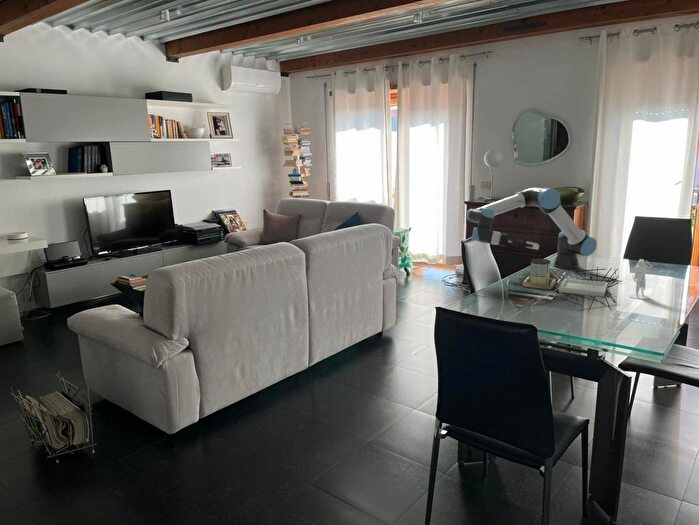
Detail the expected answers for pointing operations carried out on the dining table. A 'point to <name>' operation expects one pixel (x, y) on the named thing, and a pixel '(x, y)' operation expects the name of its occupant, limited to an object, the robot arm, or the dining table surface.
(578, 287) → the tray
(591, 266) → the dining table surface
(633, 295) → the female figurine
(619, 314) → the dining table surface
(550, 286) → the wooden frame
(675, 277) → the dining table surface
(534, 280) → the coffee can
